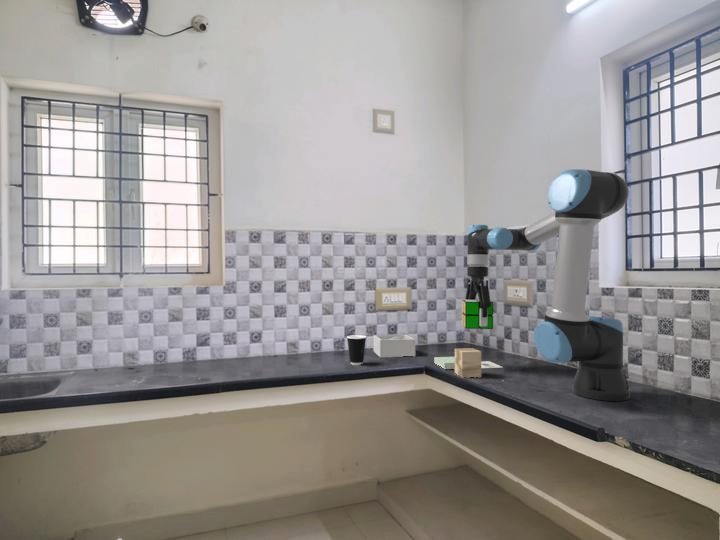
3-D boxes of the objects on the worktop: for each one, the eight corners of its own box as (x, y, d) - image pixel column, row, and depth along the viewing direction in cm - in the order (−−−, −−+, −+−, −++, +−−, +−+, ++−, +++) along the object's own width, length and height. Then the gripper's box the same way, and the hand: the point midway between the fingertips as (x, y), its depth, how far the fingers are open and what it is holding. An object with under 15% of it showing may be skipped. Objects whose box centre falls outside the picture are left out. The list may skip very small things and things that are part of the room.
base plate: (474, 368, 167) (474, 362, 167) (444, 369, 165) (444, 363, 165) (462, 362, 179) (462, 356, 179) (434, 363, 177) (434, 357, 177)
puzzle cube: (488, 325, 171) (488, 299, 170) (493, 329, 161) (493, 301, 161) (461, 325, 172) (462, 299, 172) (465, 328, 162) (465, 301, 162)
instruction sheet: (503, 367, 169) (503, 367, 169) (481, 368, 167) (481, 367, 167) (489, 361, 180) (489, 361, 180) (468, 362, 179) (468, 361, 179)
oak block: (481, 377, 153) (481, 351, 153) (462, 378, 152) (462, 352, 152) (473, 373, 160) (473, 348, 160) (454, 373, 159) (454, 348, 159)
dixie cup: (368, 365, 173) (368, 337, 173) (349, 366, 171) (349, 338, 171) (363, 361, 181) (363, 334, 181) (344, 362, 179) (344, 335, 179)
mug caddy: (415, 356, 192) (415, 339, 192) (380, 357, 190) (380, 340, 190) (406, 350, 208) (405, 334, 208) (373, 351, 205) (373, 335, 205)
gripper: (501, 266, 155) (500, 328, 155) (474, 266, 178) (474, 320, 178) (480, 266, 154) (480, 328, 154) (457, 265, 177) (456, 320, 177)
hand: (477, 324), depth 166 cm, fingers closed on puzzle cube, 11 cm apart
